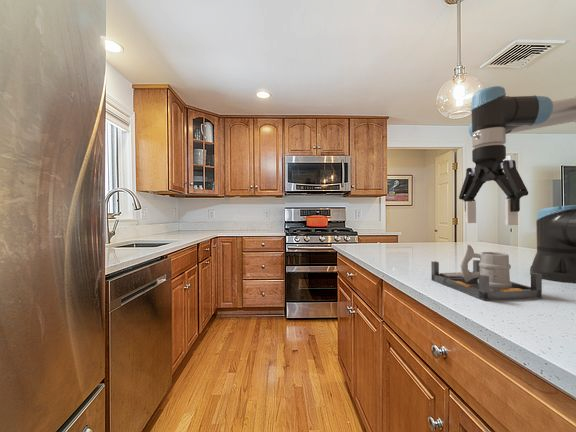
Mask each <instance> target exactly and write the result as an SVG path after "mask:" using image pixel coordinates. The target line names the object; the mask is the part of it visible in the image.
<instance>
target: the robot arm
mask: <svg viewBox="0 0 576 432" xmlns="http://www.w3.org/2000/svg"><path fill="white" fill-rule="evenodd" d="M470 107H471V108H470V111H471V112H470V113H471V122H470V124H469V127H468V133H469V136H470V137H471V142H472V143H471V145H472V146H471V147H472V148H473V149H472V151H471V154H472V155H471V156H472V157H471V158H472V159H471V161H472V162H473V164H475V167H467V168H466V169H465V171H466V172H465V178H464V181H463V182H462V183H463V184H462V187H461V189H460V193H459V195H458V199H459V200H462V201H463V202H464V212H465V224H476V223H477V201H476V199H475V198H476V197H477V195H478V193H479V192H480V190H481V188H482V186H483V185H484V184H485V183H486V182H491V181H494V182H495V183H496V184H497V185H498V187H499V188H500V189H501V190H502V192H503V193H504V194H505V195H506V198H505V199H504V200H505V201H504V203H505V205H504V206H505V216H504V217H505V226H518V225H519V212H520V211H521V207H520V206H521V198H523V197H525V196H528V195H529V191H528V188H527V186H526V185H525V182H524V181H523V179H522V177H521V175H520V173H519V171H518V169H517V166H516V163H517V162H516V160H514V159H510V160H509V159H507V160H506V158H507V151H506V150H507V147H506V145H505V144H507V143H506V142H507V139H506V138H507V134H513V133H517V132H524V131H528V130H534V129H540V128H546V127H552V126H557V125H558V126H559V125H562V124H567V123H568V124H569V123H573V122H574V123H576V95H575V96H574V97H569V98H565V99H563V98H562V99H560V100H559V99H558V100H552V99H551V98H550V97H548V96H544V95H536V94H533V95H521V96H519V95H518V96H515V95H514V96H509V95H508V96H507V93H506V89H505V87H503V86H499V85H493V86H488V87H485V88H482V89H480V90H478V91H476V92H475V93H473V95H472V98H471V106H470ZM535 221H536V253H535V256H534V258H533V262H532V263H531V264H532V265H531V266H530V267H529V275H531V273H538V274H542V280H543V279H544V280H550V281H555V282H557V281H558V282H564V283H576V204H575V205H574V204H572V205H561V206H559V205H558V206H551V207H550V206H549V207H545V208H544V207H543V208H541V209H540V210H538V211H537V215H536V220H535Z"/></svg>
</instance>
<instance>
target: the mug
mask: <svg viewBox="0 0 576 432" xmlns="http://www.w3.org/2000/svg"><path fill="white" fill-rule="evenodd" d="M509 256H510V255H509V254H508V253H505V252H498V251H495V252H493V251H481V252H479V253H476V252H474V248H473V247H472V245H471V244H466V251H465V253H464V255H463V257H462V260H461V262H460V266H459V267H460V272H461V274H462V277H464V279H465V281H466V282H469V281H470V280H471V279H473V278H478V279H477V282H478V284H479V275H486V276H489V291H500V289H510V288H511V287H512V283H511V282H512V281H511V278H510V277H511V276H510V270H511V268H512V266H511V264H510V257H509ZM473 258H477V259H479V261H480V262H479V263H478V265H479V266H480V269H479V272H474V273H471V272H472V271H470V269H469V263H470V261H471V260H473ZM510 281H511V282H510Z"/></svg>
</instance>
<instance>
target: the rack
mask: <svg viewBox="0 0 576 432" xmlns="http://www.w3.org/2000/svg"><path fill="white" fill-rule="evenodd" d="M479 262H480V259H479V260H478V259H472V271H470V272H471V273H474V272H479V269H480V266H479V265H478V263H479ZM430 264H431V265H430V266H431V267H430V268H431V281H433V282H436V283H438V284H440V285H444V286H445V287H448V288H451V289H453V290H456V291H459V292H461V293H463V294H466V295H469V296H471V297H474V298H476V299H478V300H481V301H483V302H484V301H499V300H500V301H502V300H506V301H507V300H523V299H542V297H543V291H542V288H543V285H542V284H543V278H542V274H538V273H531V274H530V286H528V285H524V284H522V283H518V282H514V281H511V280H510V282H511V283H512V287H511V288H510V289H500V291H489V276H486V275H479V284H478V282H477V279H478V278H473V279H471V280H470V281H469V282H466V281H465V279H464V277H462V274H461V271H459V272H440V265H439V264H440V261H435V260H434V261H431V263H430Z"/></svg>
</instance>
